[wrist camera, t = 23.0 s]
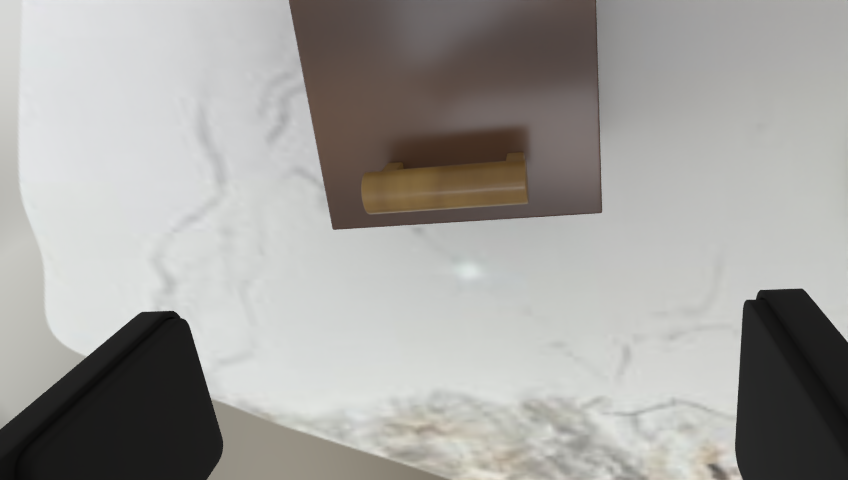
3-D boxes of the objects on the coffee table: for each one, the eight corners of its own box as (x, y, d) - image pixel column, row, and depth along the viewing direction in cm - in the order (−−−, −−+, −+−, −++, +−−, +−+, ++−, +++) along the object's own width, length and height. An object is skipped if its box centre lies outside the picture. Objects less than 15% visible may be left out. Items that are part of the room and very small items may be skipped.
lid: (600, 207, 27) (611, 250, 23) (337, 223, 29) (303, 265, 25) (587, -234, 21) (599, -284, 17) (264, -169, 24) (203, -200, 19)
